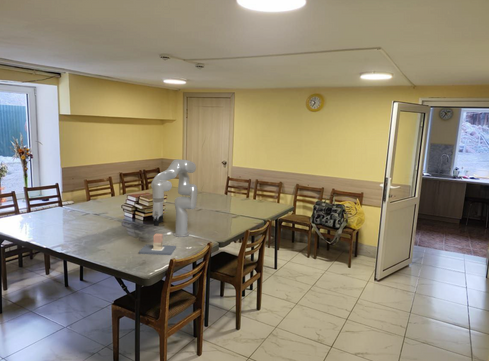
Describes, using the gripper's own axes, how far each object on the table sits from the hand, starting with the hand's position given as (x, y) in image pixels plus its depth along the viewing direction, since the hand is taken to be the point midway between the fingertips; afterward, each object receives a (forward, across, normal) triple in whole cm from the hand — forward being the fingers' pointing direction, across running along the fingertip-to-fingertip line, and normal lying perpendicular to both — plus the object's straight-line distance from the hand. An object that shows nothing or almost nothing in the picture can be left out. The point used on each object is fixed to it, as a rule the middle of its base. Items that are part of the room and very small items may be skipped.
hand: (158, 223), depth 234 cm
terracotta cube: (+13, +1, 0) cm, 13 cm away
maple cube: (+18, +1, 0) cm, 18 cm away
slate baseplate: (+19, +1, 0) cm, 19 cm away
